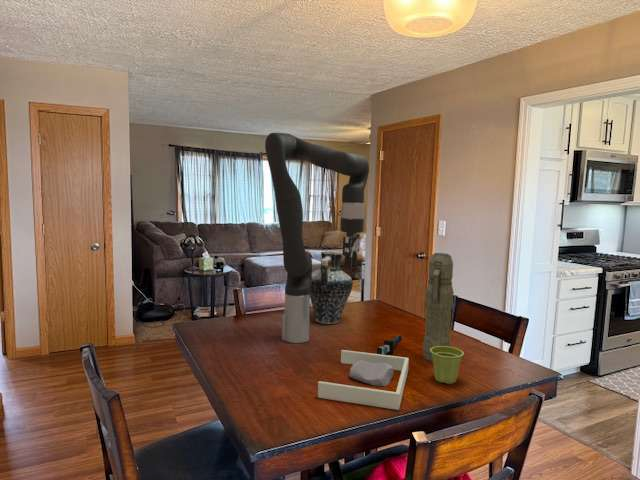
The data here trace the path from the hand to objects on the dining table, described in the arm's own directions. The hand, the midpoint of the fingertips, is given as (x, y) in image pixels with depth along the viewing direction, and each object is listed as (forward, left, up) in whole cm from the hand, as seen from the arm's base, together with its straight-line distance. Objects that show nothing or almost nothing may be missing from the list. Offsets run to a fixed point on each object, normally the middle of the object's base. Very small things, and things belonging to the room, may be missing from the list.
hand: (350, 267), depth 142 cm
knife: (+13, +12, -30) cm, 35 cm away
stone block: (+10, -14, -31) cm, 35 cm away
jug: (-17, +39, -30) cm, 52 cm away
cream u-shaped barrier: (+9, -18, -30) cm, 36 cm away
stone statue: (+28, +10, -30) cm, 42 cm away
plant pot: (+31, -8, -30) cm, 44 cm away
